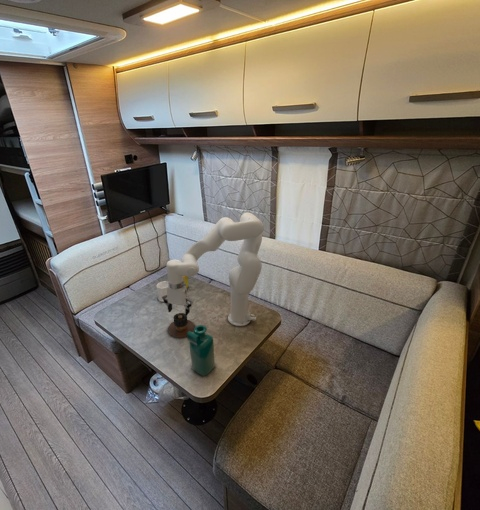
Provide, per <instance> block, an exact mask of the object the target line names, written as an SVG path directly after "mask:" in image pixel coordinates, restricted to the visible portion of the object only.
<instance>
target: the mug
mask: <svg viewBox="0 0 480 510" xmlns="http://www.w3.org/2000/svg"><path fill="white" fill-rule="evenodd" d="M155 287H156V294H157V298H158V301H159V302H161V303H165V302H164V300H163V299H162V296H164V295H167V288H168V281H160V282H158V283H156V285H155ZM166 299H167V298H166Z"/></svg>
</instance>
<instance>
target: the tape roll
mask: <svg viewBox="0 0 480 510" xmlns="http://www.w3.org/2000/svg"><path fill="white" fill-rule="evenodd" d="M179 315H182V317H183V319H178V316H179ZM172 318H173V322H174V325H175V326H176V327H183V326H186V325H187V323H188V322H187V320H188V315H187V316H186V314H185V313H184V312H178V313H175V314H174V315H173V317H172Z"/></svg>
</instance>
